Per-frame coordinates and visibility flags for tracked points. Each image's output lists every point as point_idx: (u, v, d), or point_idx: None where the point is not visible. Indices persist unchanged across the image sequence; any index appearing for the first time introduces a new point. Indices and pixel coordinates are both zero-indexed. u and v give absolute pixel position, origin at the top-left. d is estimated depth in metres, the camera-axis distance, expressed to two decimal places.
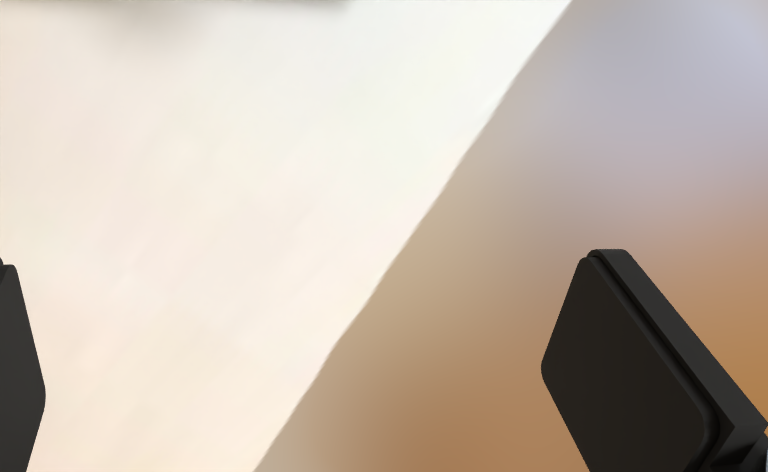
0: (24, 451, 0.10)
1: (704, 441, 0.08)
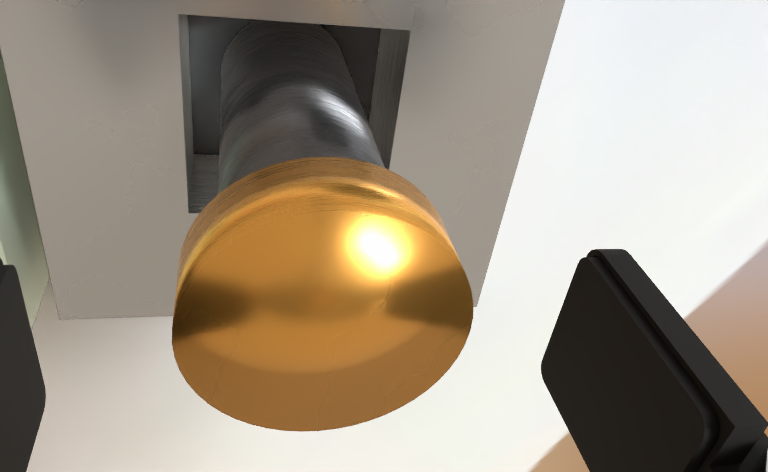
0: (24, 451, 0.10)
1: (704, 441, 0.08)
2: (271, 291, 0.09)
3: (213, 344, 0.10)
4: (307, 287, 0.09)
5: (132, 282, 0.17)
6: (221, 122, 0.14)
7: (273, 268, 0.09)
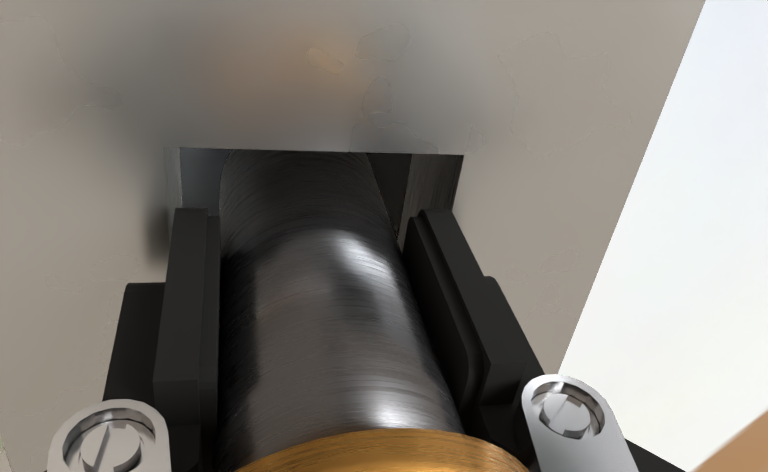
0: None
1: (471, 380, 0.09)
2: None
3: None
4: None
5: None
6: None
7: None
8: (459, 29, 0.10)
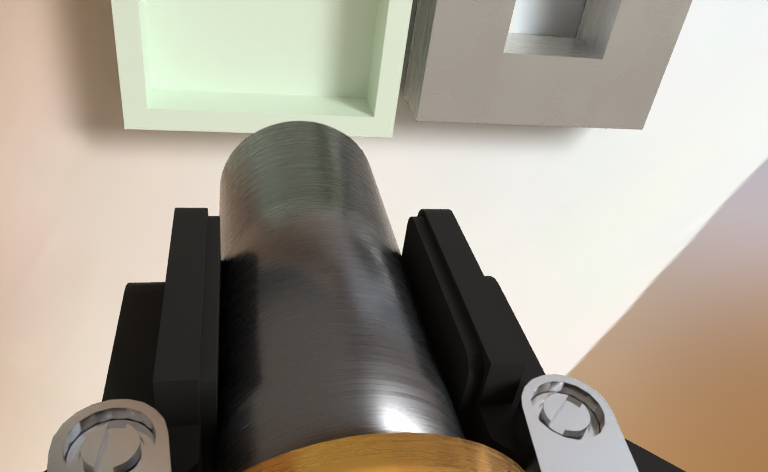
0: None
1: (471, 380, 0.09)
2: None
3: None
4: None
5: (461, 97, 0.30)
6: None
7: None
8: None
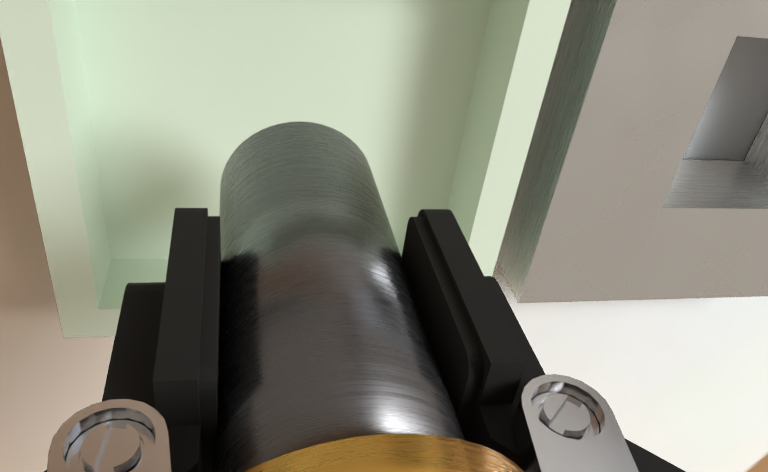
0: None
1: (471, 380, 0.09)
2: None
3: None
4: None
5: (589, 269, 0.20)
6: None
7: None
8: None
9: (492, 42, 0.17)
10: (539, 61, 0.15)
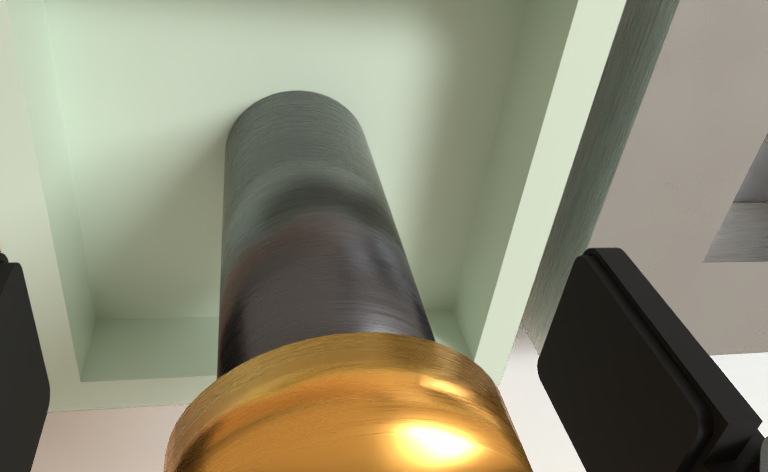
0: (29, 448, 0.10)
1: (698, 438, 0.08)
2: None
3: None
4: None
5: None
6: (223, 230, 0.12)
7: None
8: None
9: (518, 86, 0.15)
10: (575, 110, 0.14)
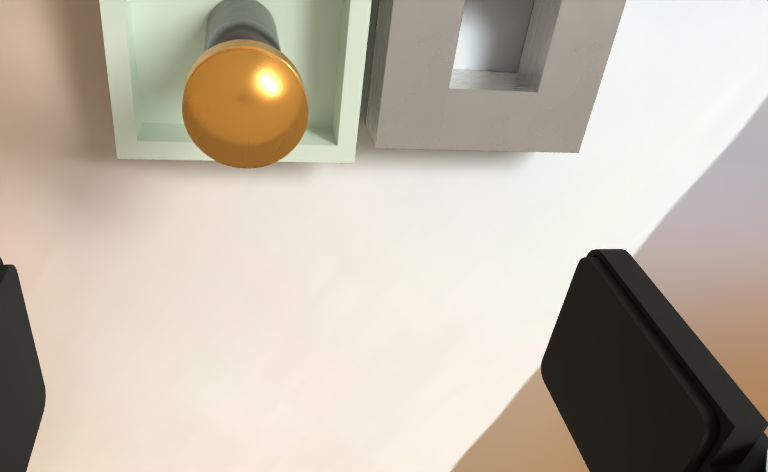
0: (24, 451, 0.10)
1: (704, 441, 0.08)
2: (221, 88, 0.23)
3: (198, 113, 0.24)
4: (235, 87, 0.23)
5: (414, 127, 0.34)
6: None
7: (221, 77, 0.23)
8: None
9: None
10: (364, 0, 0.30)
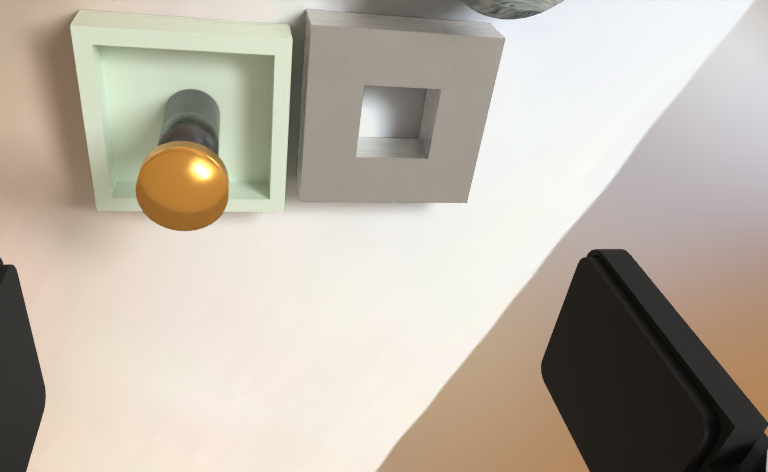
0: (24, 451, 0.10)
1: (704, 441, 0.08)
2: (163, 177, 0.33)
3: (147, 194, 0.33)
4: (173, 177, 0.33)
5: (330, 185, 0.44)
6: (160, 132, 0.38)
7: (163, 170, 0.33)
8: (439, 55, 0.40)
9: None
10: (284, 95, 0.40)
